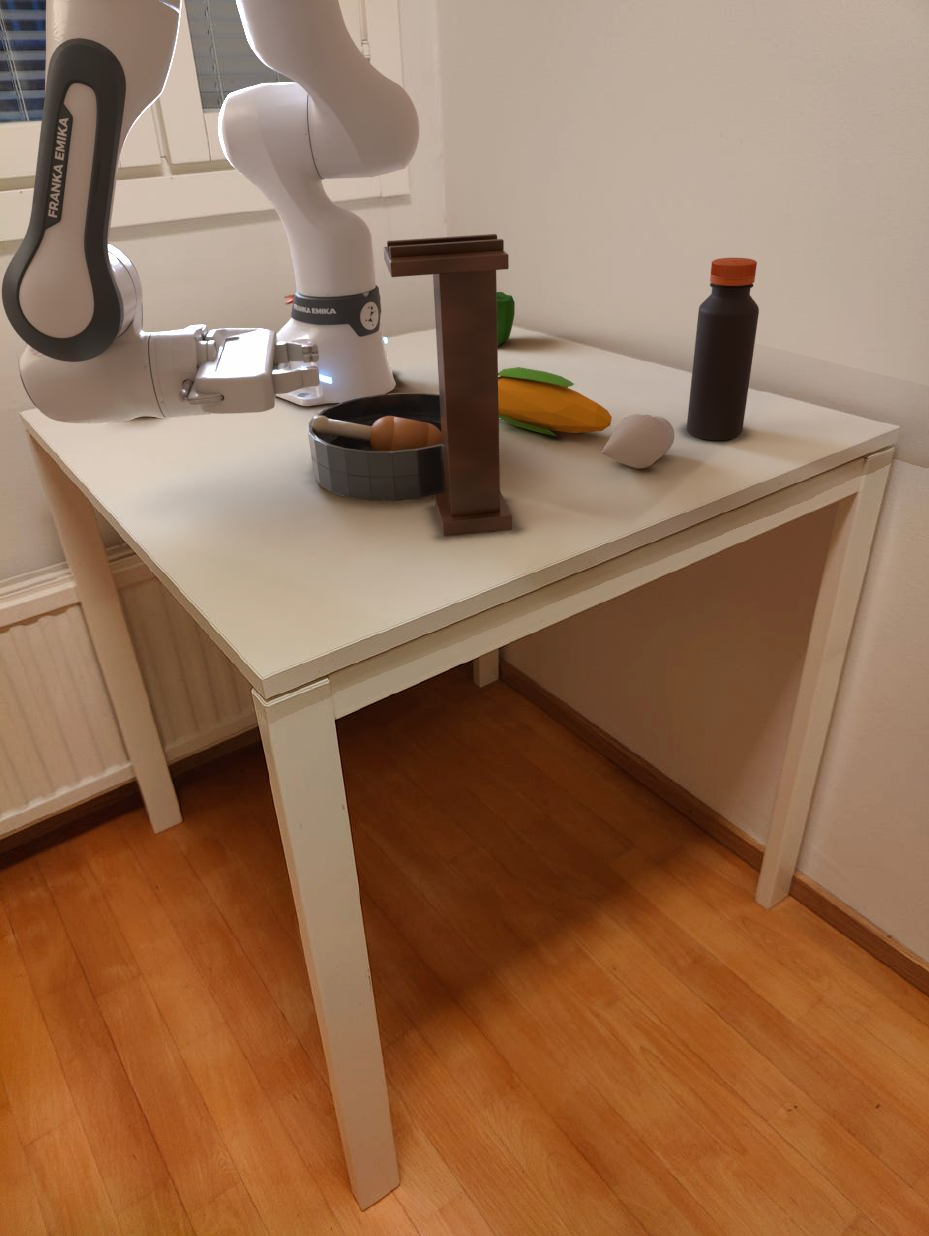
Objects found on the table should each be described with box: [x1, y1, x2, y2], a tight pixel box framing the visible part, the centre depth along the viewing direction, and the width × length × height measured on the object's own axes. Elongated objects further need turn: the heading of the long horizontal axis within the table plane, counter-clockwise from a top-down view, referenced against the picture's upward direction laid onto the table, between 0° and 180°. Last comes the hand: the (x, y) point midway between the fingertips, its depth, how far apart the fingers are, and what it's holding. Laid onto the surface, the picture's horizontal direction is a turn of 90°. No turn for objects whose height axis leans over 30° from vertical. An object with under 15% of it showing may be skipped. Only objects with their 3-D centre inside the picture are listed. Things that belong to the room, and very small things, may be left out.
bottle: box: [686, 257, 760, 441], centre depth 103 cm, size 7×7×20 cm
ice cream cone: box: [600, 413, 675, 470], centre depth 97 cm, size 6×6×15 cm
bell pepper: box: [497, 291, 516, 346], centre depth 145 cm, size 8×8×10 cm
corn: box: [498, 366, 613, 437], centre depth 109 cm, size 7×8×20 cm
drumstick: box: [312, 416, 442, 451], centre depth 99 cm, size 15×5×5 cm, turn 98°
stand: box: [383, 233, 513, 537], centre depth 82 cm, size 10×8×27 cm
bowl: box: [307, 392, 445, 502], centre depth 100 cm, size 20×20×6 cm
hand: (319, 363), depth 94 cm, fingers open, 8 cm apart
